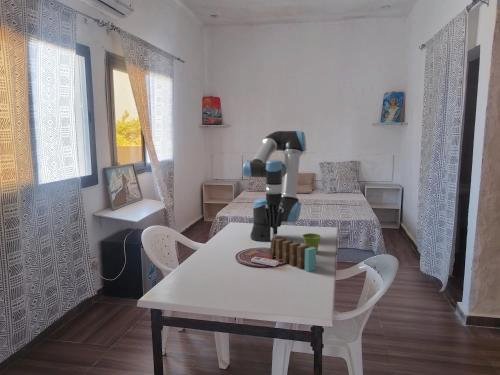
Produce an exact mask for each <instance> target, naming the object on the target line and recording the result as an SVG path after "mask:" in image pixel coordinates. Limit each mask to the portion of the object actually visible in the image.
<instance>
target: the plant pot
mask: <svg viewBox="0 0 500 375" xmlns="http://www.w3.org/2000/svg"><path fill="white" fill-rule="evenodd" d="M301 237H302V239H303V245H304V244H305V245H308V248H310V247H315V248H316V254H317V253H318V252H319V251H318V250H319V244H320V241H321V238H322V236H321V235H320V234H318V233H304V234H302V235H301Z"/></svg>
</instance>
